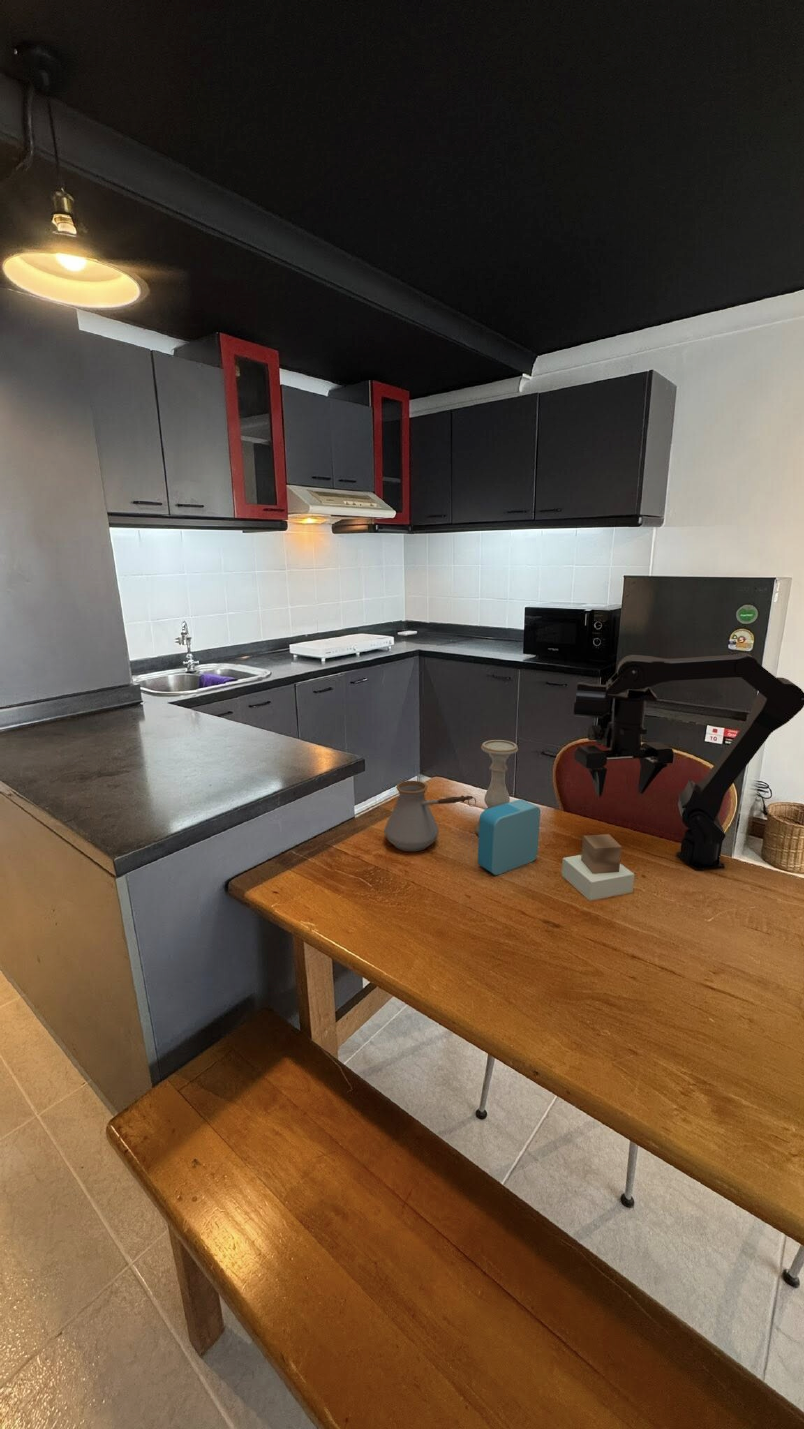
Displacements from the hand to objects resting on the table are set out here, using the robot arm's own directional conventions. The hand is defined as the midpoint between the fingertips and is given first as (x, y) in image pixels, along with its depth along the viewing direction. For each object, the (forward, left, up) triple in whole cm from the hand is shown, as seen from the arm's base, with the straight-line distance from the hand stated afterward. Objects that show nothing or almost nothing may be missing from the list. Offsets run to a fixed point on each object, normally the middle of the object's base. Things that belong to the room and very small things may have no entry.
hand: (619, 794), depth 118 cm
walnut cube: (+10, +12, -8) cm, 18 cm away
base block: (+10, +12, -12) cm, 20 cm away
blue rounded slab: (+24, +2, -12) cm, 27 cm away
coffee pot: (+38, -6, -12) cm, 40 cm away
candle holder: (+22, -11, -12) cm, 28 cm away
